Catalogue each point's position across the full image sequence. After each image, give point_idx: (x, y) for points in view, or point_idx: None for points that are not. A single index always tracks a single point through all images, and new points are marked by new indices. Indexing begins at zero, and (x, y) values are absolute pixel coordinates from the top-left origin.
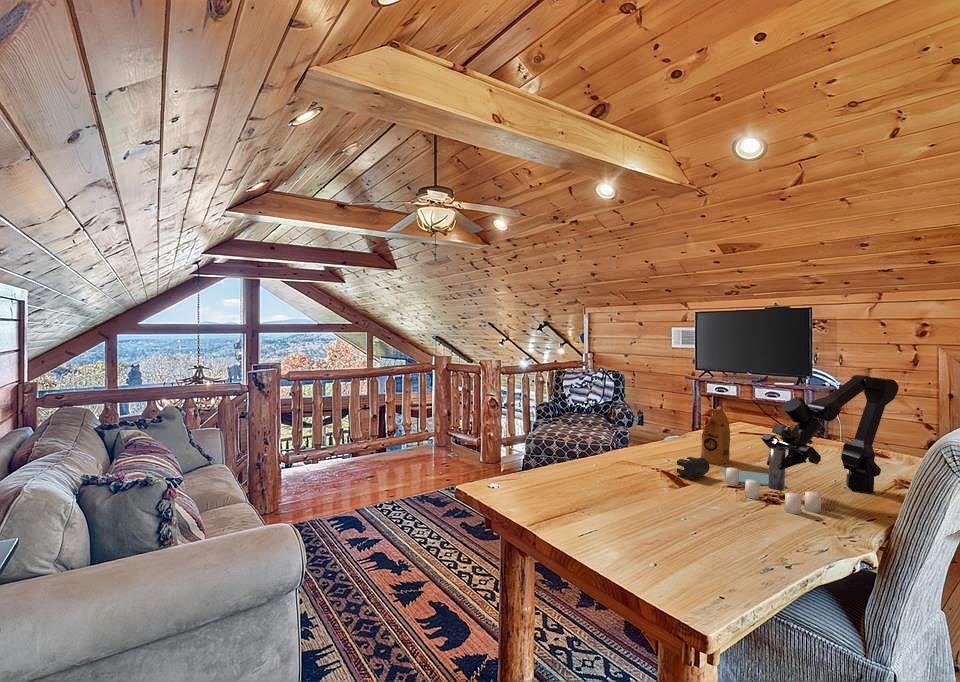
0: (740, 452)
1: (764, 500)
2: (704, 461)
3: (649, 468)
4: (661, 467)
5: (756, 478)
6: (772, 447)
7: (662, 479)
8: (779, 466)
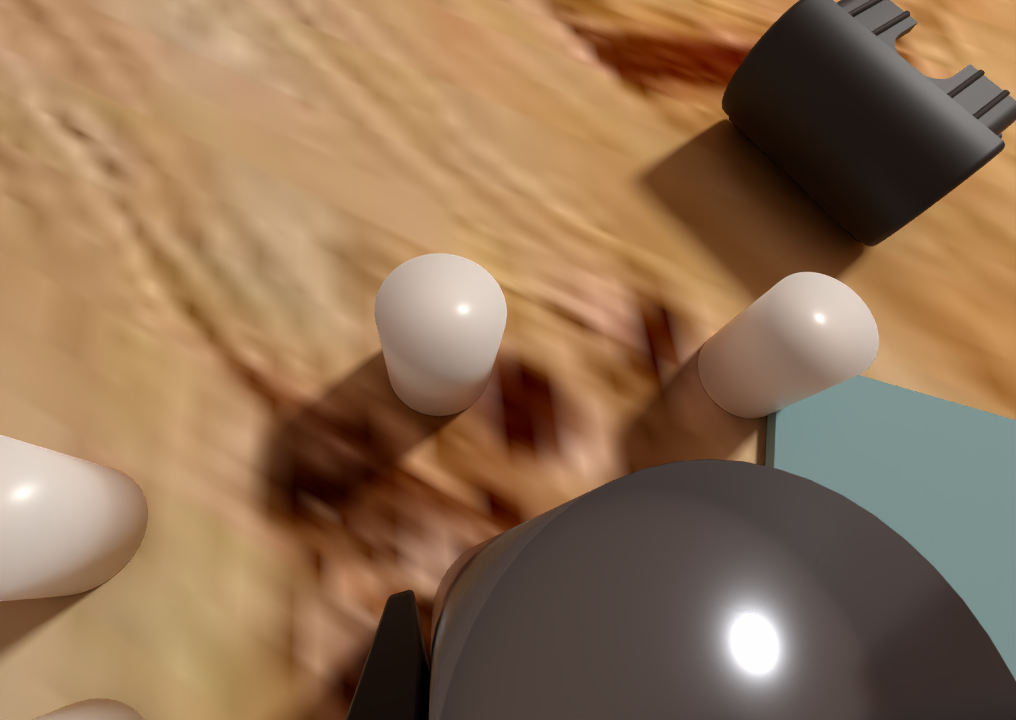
0: None
1: (361, 425)
2: (924, 148)
3: None
4: None
5: None
6: (943, 652)
7: (697, 5)
8: (398, 612)
